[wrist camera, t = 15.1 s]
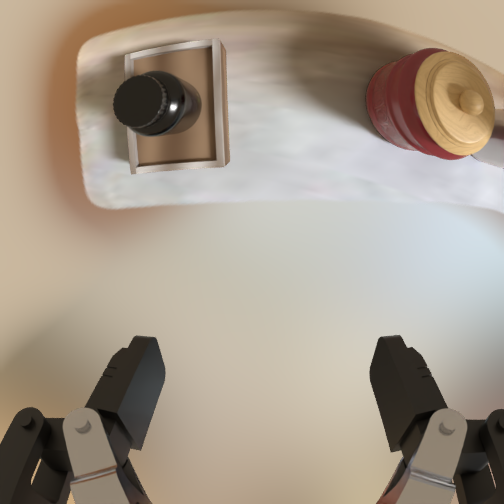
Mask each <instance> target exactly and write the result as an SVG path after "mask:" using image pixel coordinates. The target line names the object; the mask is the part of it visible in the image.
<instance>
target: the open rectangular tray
mask: <svg viewBox="0 0 504 504" xmlns="http://www.w3.org/2000/svg"><path fill="white" fill-rule="evenodd" d="M153 70H161V71H166V72H169V73H171V74H173V75H175V76H177V77H179V78H181V79H183V80H184V81H186V82H188V83H190V84H191V85H192V86H194V87H195V88H196V90H197V91H198V92H199V94H200V97H201V101H202V109H201V113H200V116H199V118H198V120H197V121H196V123H195V124H194V125H193V126H192V127H191V128H189V129H188V130H186V131H184V132H181V133H177V134H171V135H164V136H157V137H145V136H141V135H138V134H136V133H134V132H133V131H131V130H130V129H129V128H128V127H127V138H128V150H129V160H130V170H131V174H139V173H149V172H159V171H171V170H183V169H198V168H216V167H225V166H226V165H227V164H228V163H229V162H230V150H229V127H228V101H227V72H226V50H225V48H224V46H223V44H222V43H221V41H220V39H219V38H218V39H208V40H200V41H192V42H185V43H179V44H173V45H167V46H162V47H157V48H152V49H147V50H143V51H138V52H134V53H130V54H126V55H125V81H126V80H127V79H128V78H131V77H133V76H137V75H141V74H143V73H145V72H148V71H153Z"/></svg>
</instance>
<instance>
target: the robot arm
mask: <svg viewBox="0 0 504 504" xmlns="http://www.w3.org/2000/svg"><path fill="white" fill-rule="evenodd" d="M472 156H473V157H474V158H475V159H477V160H479V161H481V162H484V163H487V164H491V165H494V166H497V167H500V168H503V169H504V109H495V122H494V128H493V131H492V134H491V136H490V139H489V140H488V142H487V143H486V145H485V146H484V147H483V148H482V149H481V150H479V151H478V152H476V153H474V154H472ZM164 381H165V366H164V362H163V359H162V355H161V352H160V349H159V345H158V342H157V339H156V338H155V337H147V336H135V337H134V338H133V340H132V341H131V343H130V345H129V347H128V348H122V349H121V350H119V351H118V352H117V353H116V354H115V355H113V357H112V358H111V360H110V362H109V364H108V365H107V368H106V369H105V371H104V372H103V376H101V378H100V380H99V381H98V383H97V385H96V387H95V389H94V391H93V393H92V395H91V396H90V398H89V400H88V402H87V404H86V406H85V407H84V408H78V409H75V410H74V411H71V412H70V413H69V414H68V415H67V416H66V417H65V418H45V417H44V416H43V414H42V413H41V412H40V411H39V410H38V409H36V408H33V407H29V408H25V409H22V410H21V411H19V412H18V413H17V414H16V416H15V417H14V419H13V421H12V423H11V424H10V426H9V428H8V430H7V432H6V434H5V436H4V438H3V440H2V442H1V444H0V504H67V500H68V497H69V494H70V491H72V495H73V498H74V501H75V504H152V502H151V501H150V499H149V498H148V496H147V494H146V492H145V490H144V488H143V487H142V485H141V483H140V481H139V478H138V476H137V474H136V472H135V470H134V468H133V466H132V464H131V462H130V459H129V457H128V453H129V451H130V448H131V449H136V450H141V449H142V446H143V443H144V439H145V437H146V434H147V431H148V427H149V424H150V422H151V419H152V416H153V413H154V410H155V407H156V404H157V401H158V398H159V395H160V393H161V390H162V387H163V384H164ZM370 382H371V385H372V388H373V392H374V395H375V398H376V401H377V405H378V408H379V411H380V415H381V418H382V422H383V425H384V429H385V432H386V436H387V440H388V443H389V447H390V451H391V452H395V451H399V450H401V451H402V454H403V457H402V459H401V460H400V462H399V464H398V466H397V468H396V470H395V472H394V474H393V476H392V478H391V479H390V481H389V483H388V485H387V487H386V488H385V490H384V492H383V494H382V496H381V497H380V499H379V500H378V501H377V503H376V504H450V503H451V501H452V498H453V496H454V493H455V489H456V493H457V497H458V501H459V504H504V409H498V410H495V411H493V412H492V413H491V414H490V415H489V416H488V418H487V419H486V420H466V419H465V418H464V416H463V415H462V414H460V413H459V412H458V411H456V410H453V409H448V407H447V405H446V403H445V401H444V399H443V396H442V395H441V392H440V390H439V388H438V386H437V384H436V382H435V380H434V378H433V377H432V374H431V372H430V370H429V368H427V364H426V362H425V360H424V359H423V357H422V356H421V354H419V353H418V352H417V351H416V350H415V349H414V348H413V347H410V348H407V347H406V345H405V343H404V341H403V339H402V337H401V336H400V335H394V336H384V337H380V338H379V339H378V342H377V346H376V349H375V353H374V356H373V359H372V363H371V366H370ZM39 459H41V462H40V465H39V467H38V470H37V472H36V475H35V477H34V480H33V483H32V485H31V478H32V476H33V473H34V471H35V469H36V466H37V464H38V461H39ZM488 463H489V464H490V467H491V470H492V474H493V477H494V480H495V484H496V489H495V485H494V482H493V478H492V475H491V472H490V469H489V466H488ZM452 479H453V480H454V483H452Z"/></svg>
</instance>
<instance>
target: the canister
mask: <svg viewBox="0 0 504 504" xmlns="http://www.w3.org/2000/svg"><path fill="white" fill-rule="evenodd" d="M366 107H367V111H368V115H369V117H370V120H371V122H372V124H373V125H374V127H375V128H376V130H377V131H378V132H379V133H380V134H381V135H382V136H383V137H384V138H385V139H386V140H387V141H389V142H390V143H392V144H393V145H395V146H397V147H400V148H403V149H406V150H413V151H420V152H422V153H424V154H427V155H432V156H436V157H439V158H442V159H446V160H457V159H461V158H464V157H466V156H468V155H471V154H474V153H476V152H478V151H479V150H481V149H482V148H483V147H484V146H485V145H486V143H487V142H488V140H489V139H490V136H491V134H492V131H493V128H494V122H495V107H494V101H493V97H492V93H491V90H490V88H489V86H488V83H487V81H486V80H485V78H484V76H483V75H482V73H481V72H480V71H479V70H478V68H477V67H476V66H475V65H474V64H473V63H471V62H470V61H469V60H468V59H466V58H465V57H463V56H461V55H459V54H456V53H453V52H448V51H446V50H443V49H438V48H426V49H422V50H420V51H417V52H416V53H414V54H410V55H407V56H405V57H403V58H402V59H400V60H399V61H395V62H391V63H389V64H387V65H385V66H383V67H381V68H380V69H379V70H378V71H377V72H376V73H375V74H374V76H373V77H372V79H371V80H370V82H369V85H368V87H367V92H366Z"/></svg>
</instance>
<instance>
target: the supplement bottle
mask: <svg viewBox="0 0 504 504" xmlns="http://www.w3.org/2000/svg"><path fill="white" fill-rule="evenodd" d="M113 106H114V111H115V115H116V116H117V119H119V121H120V122H122V123H123V124H124V125H127V127H128V128H129V129H130V130H131V131H133V132H134V133H136V134H138V135H141V136H145V137H157V136H164V135H171V134H177V133H181V132H184V131H186V130H188V129H189V128H191V127H192V126H193V125H194V124H195V123H196V121H197V120H198V118H199V116H200V113H201V109H202V101H201V97H200V94H199V92H198V91H197V90H196V88H195V87H194V86H192V85H191V84H190V83H188V82H186V81H184V80H183V79H181V78H179V77H177V76H175V75H173V74H171V73H169V72H166V71H161V70H153V71H148V72H145V73H143V74H141V75H137V76H133V77H131V78H128V79H127V80H126V81H124V82H123V84H122V85H120V87H119V89H117V92H116V94H115V98H114V103H113Z"/></svg>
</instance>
